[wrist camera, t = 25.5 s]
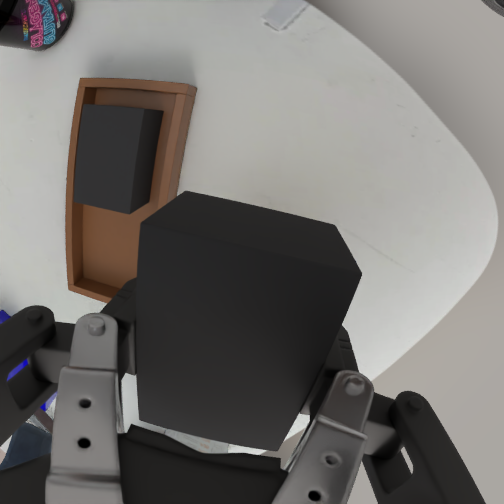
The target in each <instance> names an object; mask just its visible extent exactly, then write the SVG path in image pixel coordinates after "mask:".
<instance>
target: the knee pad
mask: <svg viewBox="0 0 504 504" xmlns="http://www.w3.org/2000/svg"><path fill="white" fill-rule="evenodd" d="M34 415H35V416H36V418H37V419H38V420H39V421H40V423H41V424H42V425H43V426H44V427H45V428H46V429H47V430H48V431H49V432H50V433H47V432H45V431H43V430H41V429H40V428H38V427H36V426H34V425H32V424H29V423H26V422H25V423H24V424H22V425H21V426H20V427H19V428H18V429H17V430H16V431H15V432H14V433H13V435H12V438H11V441H10V444H9V447H8V450H7V453H6V456H5V458H4V460H3V461H2V463H1V464H0V470H3V469H6V468H9V467H12V466H15V465H18V464H21V463H23V462H26V461H29V460H32V459H34V458H37V457H40V456H42V455H45V454H48V453H50V452H51V447H52V433H53V423H54V421H53V420H52V419H51V418H50V417H49V416H48V415H47V414H46V412H45V411H44V410H42V409H41V408H39V409H38V410H37V411H36V412H35V413H34Z"/></svg>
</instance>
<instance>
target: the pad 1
mask: <svg viewBox="0 0 504 504" xmlns="http://www.w3.org/2000/svg"><path fill="white" fill-rule="evenodd" d="M163 112H164V111H162V110H153V109H145V108H135V107H124V106H111V105H94V104H84V105H83V110H82V116H81V123H80V131H79V138H78V147H77V157H76V168H75V182H74V202H76V203H80V204H85V205H89V206H94V207H98V208H102V209H107V210H111V211H116V212H120V213H125V214H129V215H130V214H131V213H133V212H135V211H136V210H138V209H139V208H141V207H143V206H144V205H146V204H147V203H149V200H150V192H151V185H152V177H153V170H154V164H155V157H156V151H157V145H158V139H159V133H160V128H161V123H162V117H163Z"/></svg>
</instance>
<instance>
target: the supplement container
mask: <svg viewBox="0 0 504 504" xmlns="http://www.w3.org/2000/svg"><path fill="white" fill-rule="evenodd" d="M72 16H73V5H72V2H71V0H0V46H6V47H14V48H20V49H27V50H33V51H42V50H45V49H48V48H49V47H51V46H53V45H54V44H55V43H56V42H58V41H59V40H60V38H61V37H62V36H63V35H64V34H65V32H66V31H67V29H68V27H69V25H70V23H71V20H72Z"/></svg>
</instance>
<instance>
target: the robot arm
mask: <svg viewBox="0 0 504 504" xmlns="http://www.w3.org/2000/svg"><path fill="white" fill-rule="evenodd" d="M503 1H504V0H503ZM136 280H137V277H135V278H133V279H131V280H129V281H127V282H126V283H125V284H124V285H123V287H122V288H121V290H119V291H118V292H117V293H116V295H115V296H114V297H113V298H112V299H111V300H110V301H109V302H108V304H107V305H106V306H105V307H104V308H103V309H102V311H101V312H100V313H90V314H86V315H84V316H82V317H81V318H79V319H78V321H77V322H76V324H71V323H62V322H55V319H54V314H53V312H52V311H51V310H50V309H49V308H47V307H44V306H39V305H35V306H29V307H26V308H24V309H22V310H21V311H19V312H18V313H16V314H15V315H13V316H12V317H10V318H9V319H7V320H6V321H4V322H3V323H1V324H0V446H1V445H2V444H3V443H4V442H5V441H6V440H7V439H8V438H9V437H10V436H11V435H12V434H13V433H14V432H15V431H16V430H17V429H18V428H19V427H20V426H21V425H22V424H24V423H25V422H26V421H27V420H28V419H29V418H30V417H31V416H32V415H33V414H34V413H35V412H36V411H37V410H38V409H39V408H40V407H41V406H42V405H43V404H44V403H45V402H46V401H47V400H48V399H49V398H50V397H51V396H52V395H53V394H54V393H56V392H57V397H56V405H55V413H54V423H53V433H52V447H51V452H50V453H48V454H45V455H42V456H40V457H37V458H34V459H32V460H29V461H26V462H23V463H21V464H18V465H15V466H12V467H9V468H6V469H3V470H0V504H347V501H348V499H349V496H350V493H351V490H352V488H353V485H354V482H355V478H356V476H357V473H358V470H359V467H360V464H361V461H362V462H363V465H364V467H365V470H366V472H367V475H368V478H369V480H370V483H371V486H372V488H373V491H374V494H375V497H376V499H377V502H378V504H486V503H485V502H484V499H483V497H482V496H481V494H480V492H479V490H478V488H477V486H476V484H475V482H474V480H473V478H472V477H471V475H470V473H469V471H468V469H467V467H466V466H465V464H464V462H463V460H462V459H461V457H460V455H459V453H458V451H457V449H456V448H455V446H454V444H453V443H452V441H451V440H450V437H449V436H448V434H447V432H446V431H445V429H444V427H443V426H442V424H441V423H440V421H439V419H438V417H437V416H436V414H435V412H434V411H433V409H432V407H431V406H430V404H429V403H428V401H427V400H426V399H425V398H424V397H423V396H421V395H420V394H418V393H415V392H412V391H404V392H401V393H400V394H398V396H397V397H396V399H395V400H394V399H391V398H388V397H385V396H383V395H380V394H377V393H375V392H374V387H373V384H372V383H371V381H370V380H369V379H368V378H367V377H365V376H364V375H362V374H361V373H359V370H358V366H357V363H356V359H355V356H354V352H353V350H352V345H351V343H350V338H349V335H348V332H347V331H346V329H345V328H344V327H343V326H342V325H341V328H340V330H339V332H338V334H337V337H336V339H335V341H334V343H333V345H332V348H331V350H330V352H329V354H328V356H327V358H326V361H325V363H323V364H322V367H321V369H320V371H319V373H318V375H317V377H316V379H315V381H314V383H313V385H312V387H311V389H310V391H309V393H308V395H307V397H306V399H305V401H304V403H303V404H302V406H301V408H300V414H305V415H310V422H309V423H308V425H307V427H306V428H305V430H304V432H303V434H302V436H301V438H300V440H299V442H298V444H297V445H296V447H295V449H294V451H293V453H292V455H291V457H290V458H289V460H288V462H287V463H286V465H285V467H284V468H283V469H281V468H280V463H281V458H276V457H268V456H261V455H254V454H248V453H202V452H200V451H197V450H195V449H193V448H191V447H189V446H187V445H185V444H183V443H181V442H179V441H177V440H175V439H173V438H171V437H169V436H167V435H164V434H161V433H158V432H154V431H151V430H148V429H145V428H142V427H139V426H136V425H133V424H131V425H130V428H129V430H128V432H127V433H125V432H124V421H123V403H122V382H121V380H122V378H123V376H124V375H125V373H128V374H131V375H134V376H135V375H136V373H137V362H136ZM26 359H27V361H28V365H26V366H25V367H24V368H23V369H21V370H20V371H19V372H18V373H17V374H15V375H14V376H13V377H12V378H11V379H9V380H8V381H7V378H8V375H9V373H10V372H11V371H12V370H13V369H14V368H16V367H17V366H18V365H19V364H21V363H22V362H23V361H24V360H26ZM403 447H405V449H406V451H407V453H408V455H409V457H410V460H411V462H412V464H413V473H412V474H411V472H410V470H409V468H408V465H407V463H406V461H405V459H404V457H403V455H402V453H401V449H402V448H403Z"/></svg>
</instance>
